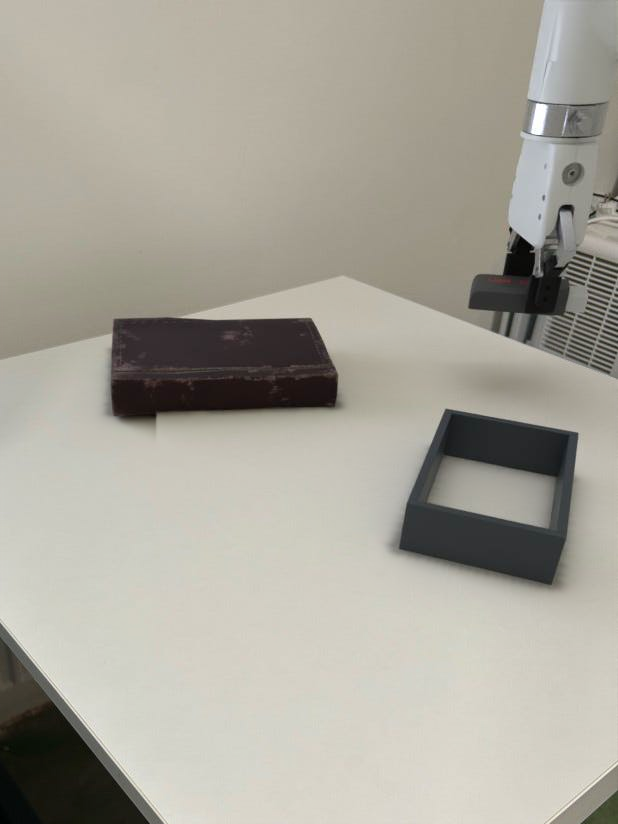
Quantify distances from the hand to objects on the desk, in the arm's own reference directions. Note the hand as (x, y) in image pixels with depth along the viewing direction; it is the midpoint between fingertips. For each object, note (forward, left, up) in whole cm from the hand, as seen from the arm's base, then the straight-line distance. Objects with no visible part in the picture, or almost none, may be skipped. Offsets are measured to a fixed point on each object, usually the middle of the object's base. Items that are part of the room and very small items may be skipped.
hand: (526, 298), depth 91 cm
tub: (+10, +25, -11) cm, 30 cm away
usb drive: (0, 0, -1) cm, 1 cm away
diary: (+34, -4, -12) cm, 36 cm away
